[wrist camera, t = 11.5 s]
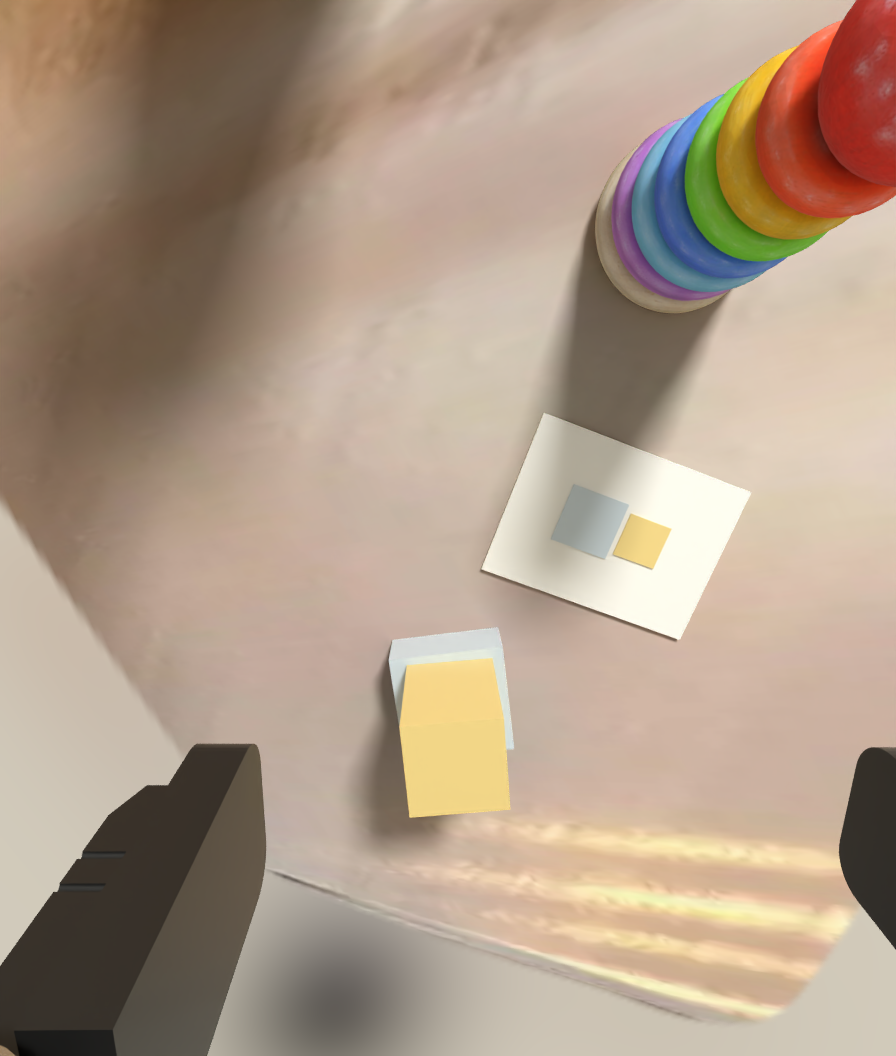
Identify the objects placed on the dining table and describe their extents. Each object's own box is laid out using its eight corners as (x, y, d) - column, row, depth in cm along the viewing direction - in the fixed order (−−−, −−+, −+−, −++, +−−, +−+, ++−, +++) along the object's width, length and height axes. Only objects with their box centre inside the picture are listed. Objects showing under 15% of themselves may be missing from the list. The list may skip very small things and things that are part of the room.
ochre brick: (415, 741, 33) (409, 817, 28) (406, 665, 32) (399, 727, 27) (498, 735, 33) (510, 809, 28) (492, 658, 32) (503, 718, 26)
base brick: (407, 731, 37) (404, 761, 34) (392, 637, 35) (388, 660, 32) (508, 719, 36) (514, 748, 34) (497, 625, 35) (502, 646, 32)
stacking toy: (611, 335, 31) (850, 264, 13) (573, 168, 30) (789, -183, 11) (764, 289, 31) (1231, 148, 13) (735, 117, 29) (1228, -331, 11)
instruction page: (481, 568, 34) (481, 569, 34) (543, 412, 32) (544, 412, 32) (678, 638, 35) (680, 640, 35) (749, 491, 33) (752, 492, 33)
